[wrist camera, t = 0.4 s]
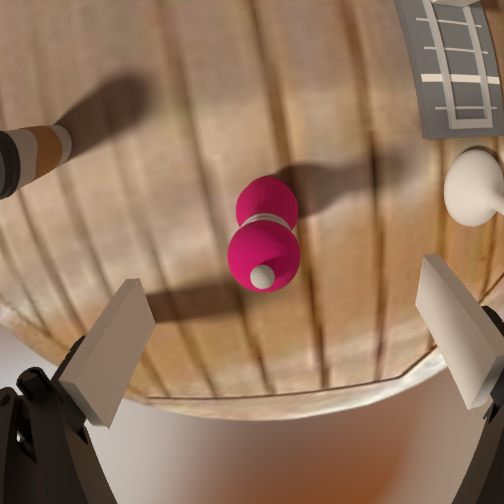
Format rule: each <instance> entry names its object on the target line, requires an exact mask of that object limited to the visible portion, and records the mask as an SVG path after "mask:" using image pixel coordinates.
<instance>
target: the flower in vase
mask: <svg viewBox="0 0 504 504" xmlns="http://www.w3.org/2000/svg"><path fill="white" fill-rule="evenodd" d="M503 193H504V179H503V174H502V171H501V168H500V166H499V164H498V163H497V161H496V160H495V159H494V158H493V157H492V156H491V155H490V154H489V153H487V152H486V151H483V150H480V149H472V150H468V151H466V152H464V153H462V154H461V155H460V156H459V157H457V158H456V160H455V161H454V162H453V163H452V165H451V167H450V168H449V171H448V173H447V176H446V179H445V185H444V199H445V204H446V207H447V210H448V212H449V214H450V215H451V217H452V218H453V219H454V220H455V221H456V222H458V223H459V224H462V225H465V226H478V225H481V224H483V223H485V222H487V221H488V220H489V219H490V218H491V217H492V216H493V215H494V214H495V213H496V211H498V212H500V213H501V214H502V215H504V195H503Z"/></svg>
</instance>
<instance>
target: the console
mask: <svg viewBox="0 0 504 504" xmlns="http://www.w3.org/2000/svg"><path fill="white" fill-rule="evenodd" d="M394 3H395V6H396V10H397V13H398V16H399V19H400V23H401V26H402V30H403V34H404V37H405V41H406V45H407V49H408V54H409V58H410V62H411V67H412V72H413V77H414V82H415V87H416V93H417V98H418V105H419V111H420V118H421V126H422V134H423V138H425V139H429V140H433V139H445V138H459V137H476V136H502V135H504V109H503V101H502V93H501V86H500V80H499V74H498V68H497V63H496V58H495V53H494V49H493V45H492V40H491V36H490V33H489V29H488V25H487V22H486V18H485V15H484V12H483V8H482V5H481V2H480V1H477V2H474V3H471V4H469V5H466V6H463V7H456V6H449V5H442V4H433V3H431V0H394Z"/></svg>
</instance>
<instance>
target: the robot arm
mask: <svg viewBox="0 0 504 504" xmlns="http://www.w3.org/2000/svg"><path fill="white" fill-rule="evenodd" d="M415 305H416V307H417V309H418V310H419V312H420V314H421V316H422V317H423V319H424V321H425V323H426V325H427V327H428V328H429V330H430V332H431V334H432V336H433V338H434V340H435V342H436V343H437V345H438V347H439V349H440V351H441V353H442V355H443V357H444V359H445V361H446V363H447V365H448V367H449V369H450V371H451V374H452V376H453V378H454V380H455V382H456V384H457V386H458V388H459V391H460V393H461V395H462V397H463V400H464V402H465V404H466V406H467V409H468V410H469V409H472V408H475V407H478V406H481V405H483V404H484V403H485V402H486V400H487V398H488V397H489V395H491V397H492V399H493V403H492V404H491V406H490V407H489V409H488V410H487V412H486V414H485V415H484V417H483V419H485V418H486V417H487V420H486V423H485V426H484V428H483V431H482V434H481V437H480V440H479V443H478V445H477V448H476V451H475V453H474V456H473V458H472V461H471V463H470V466H469V468H468V470H467V473H466V475H465V477H464V479H463V481H462V484H461V486H460V488H459V490H458V492H457V494H456V496H455V498H454V500H453V502H452V504H504V322H502V319H501V318H500V317H499V315H498V314H497V313H496V312H495V311H494V310H492V309H491V308H490V307H488V306H487V305H486V306H480V305H479V303H478V302H477V301H476V299H475V298H474V297H473V296H472V294H471V293H470V292H469V291H468V289H467V288H466V287H465V286H464V284H463V283H462V282H461V281H460V280H459V278H458V277H457V276H456V275H455V274H454V272H453V271H452V270H451V269H450V268H449V267H448V265H447V264H446V263H445V262H444V261H443V260H442V259H441V258H440V256H439V255H438V254H430V255H423V261H422V268H421V275H420V281H419V287H418V293H417V298H416V304H415ZM155 325H156V323H155V321H154V318H153V315H152V313H151V310H150V307H149V304H148V301H147V298H146V296H145V293H144V290H143V287H142V284H141V281H140V278H139V279H126V280H125V281H124V283H123V284H122V286H121V287H120V288H119V290H118V291H117V292H116V294H115V295H114V297H113V298H112V299H111V301H110V302H109V304H108V305H107V307H106V308H105V309H104V311H103V312H102V314H101V315H100V317H99V318H98V319H97V321H96V322H95V324H94V325H93V327H92V328H91V330H90V331H89V333H88V334H87V336H82V337H81V338H80V339H79V340H78V341H76V342H75V343H74V345H73V346H72V348H71V349H70V351H69V353H68V354H67V355H66V357H65V360H63V361H62V363H61V364H60V366H59V368H58V369H57V371H56V372H55V374H54V376H53V377H52V379H51V380H49V378H48V377H47V375H46V374H45V372H44V371H43V369H41V368H39V367H31V368H29V369H27V370H25V371H24V372H23V373H22V374H21V375H20V376H19V378H18V379H17V383H16V385H17V387H18V388H19V389H20V391H21V392H22V393H23V395H18V394H17V393H16V392H15V390H14V389H13V388H11V387H5V388H2V389H0V504H117V501H116V500H115V497H114V495H113V493H112V491H111V489H110V487H109V484H108V482H107V480H106V477H105V475H104V473H103V470H102V468H101V466H100V463H99V461H98V458H97V456H96V453H95V450H94V448H93V445H92V442H91V439H90V437H89V434H88V431H87V429H86V427H85V426H84V422H85V419H86V418H87V419H88V420H89V422H90V423H91V424H92V425H93V426H94V427H98V428H103V429H108V430H109V428H110V426H111V423H112V421H113V418H114V416H115V414H116V412H117V409H118V407H119V404H120V402H121V400H122V397H123V395H124V393H125V391H126V388H127V386H128V384H129V381H130V379H131V377H132V375H133V372H134V370H135V368H136V366H137V363H138V361H139V359H140V357H141V355H142V353H143V350H144V348H145V346H146V344H147V342H148V340H149V337H150V335H151V333H152V331H153V329H154V327H155ZM487 415H488V416H487ZM17 434H18V435H19V436H20V441H19V442H18V441H17Z"/></svg>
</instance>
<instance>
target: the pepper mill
mask: <svg viewBox="0 0 504 504" xmlns="http://www.w3.org/2000/svg"><path fill="white" fill-rule="evenodd" d="M236 218H237V222H238V224H239V226H240V229H239V230H238V231H237V232H236V233H235V234H234V236H233V238H232V240H231V241H230V244H229V247H228V264H229V268H230V271H231V273H232V275H233V276H234V278H235V279H236V280H237V281H238V282H239V283H240V284H241V285H242V286H244V287H245V288H247V289H249V290H252V291H256V292H272V291H276V290H279V289H281V288H283V287H284V286H286V285H287V284H288V283H289V282H290V281H291V280H292V279H293V278H294V276H295V275H296V273H297V271H298V268H299V265H300V247H299V244H298V242H297V239H296V237H295V236H294V235H293V233H292V232H291V231H292V230H293V228H294V227H295V225H296V222H297V219H298V203H297V200H296V197H295V196H294V194H293V192H292V191H291V190H290V189H289V188H288V186H287V185H286V184H285V183H284V182H283V181H281V180H279V179H277V178H274V177H261V178H258V179H256V180H254V181H253V182H251V183H250V184H249V185H248V186H247V187H246V188H245V189H244V190H243V191H242V193H241V194H240V196H239V198H238V201H237V205H236Z"/></svg>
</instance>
